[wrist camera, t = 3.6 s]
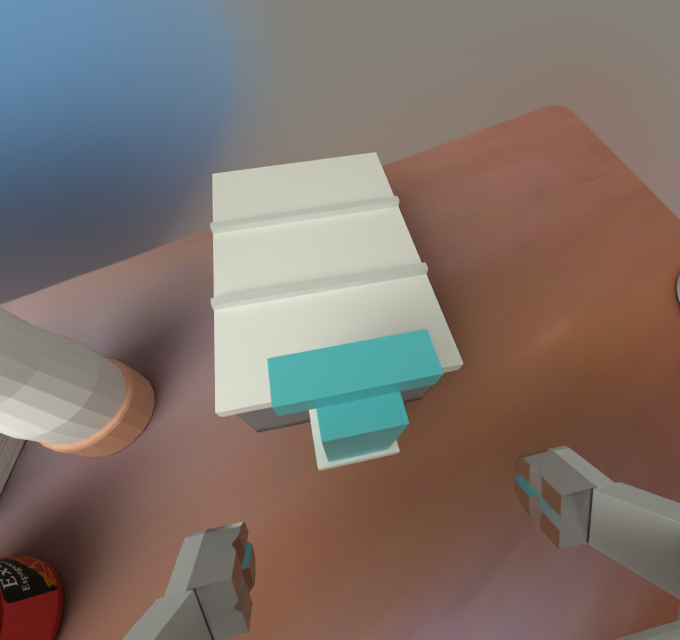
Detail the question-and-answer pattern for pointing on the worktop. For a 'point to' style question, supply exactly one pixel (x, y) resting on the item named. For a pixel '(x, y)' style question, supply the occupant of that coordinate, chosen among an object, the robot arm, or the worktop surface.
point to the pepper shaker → (67, 392)
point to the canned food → (29, 599)
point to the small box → (8, 456)
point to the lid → (323, 303)
